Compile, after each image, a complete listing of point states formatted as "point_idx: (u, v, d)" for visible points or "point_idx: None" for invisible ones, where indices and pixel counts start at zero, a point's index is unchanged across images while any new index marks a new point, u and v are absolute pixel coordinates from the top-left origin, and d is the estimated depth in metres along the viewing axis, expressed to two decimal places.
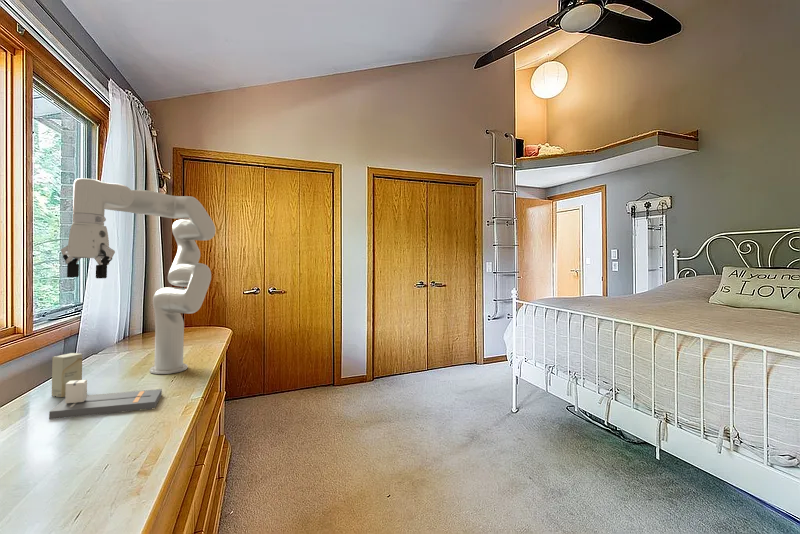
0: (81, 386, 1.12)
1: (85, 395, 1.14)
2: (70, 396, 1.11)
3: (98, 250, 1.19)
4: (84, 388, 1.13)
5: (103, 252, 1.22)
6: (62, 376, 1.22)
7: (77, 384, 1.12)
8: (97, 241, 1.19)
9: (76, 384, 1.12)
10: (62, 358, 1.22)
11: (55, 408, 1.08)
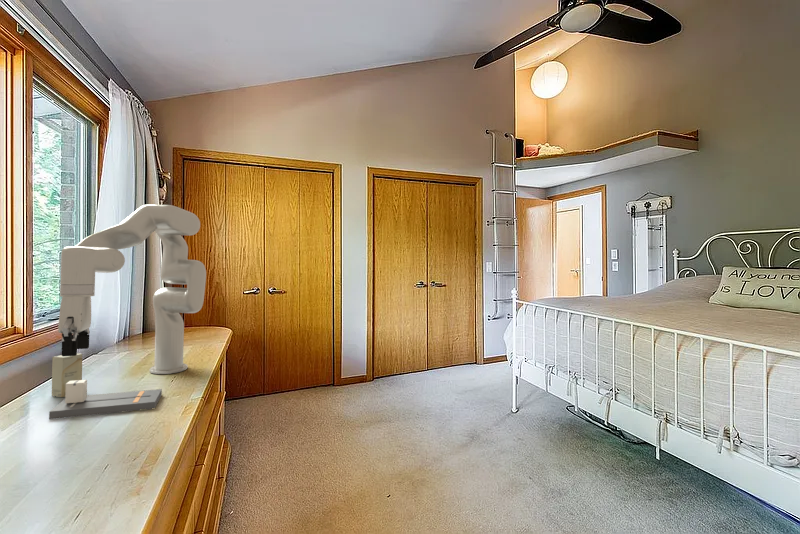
0: (81, 386, 1.12)
1: (85, 395, 1.14)
2: (70, 396, 1.11)
3: None
4: (84, 388, 1.13)
5: None
6: (62, 376, 1.22)
7: (77, 384, 1.12)
8: None
9: (76, 384, 1.12)
10: (62, 358, 1.22)
11: (55, 408, 1.08)
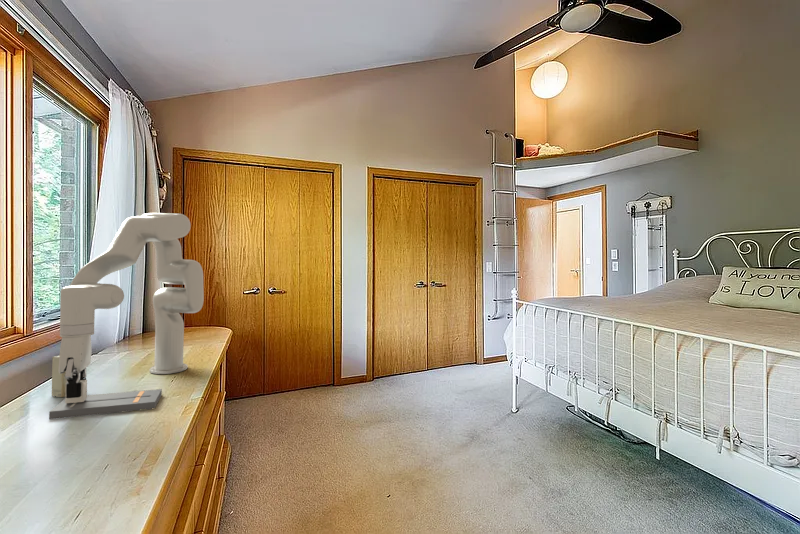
0: (81, 386, 1.12)
1: (85, 395, 1.14)
2: None
3: None
4: (84, 388, 1.13)
5: None
6: (62, 376, 1.22)
7: None
8: None
9: None
10: None
11: (55, 408, 1.08)
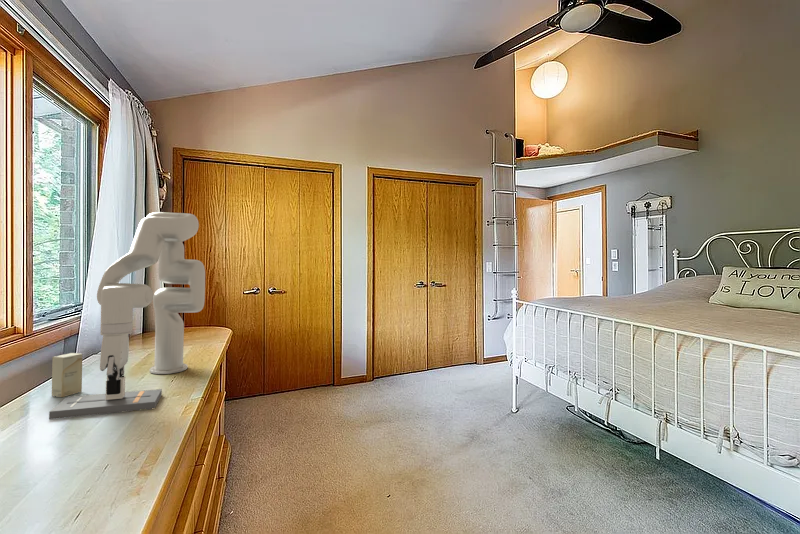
0: (121, 383, 1.16)
1: (124, 392, 1.18)
2: None
3: None
4: (123, 385, 1.17)
5: None
6: (62, 376, 1.22)
7: None
8: None
9: None
10: (62, 358, 1.22)
11: (55, 408, 1.08)
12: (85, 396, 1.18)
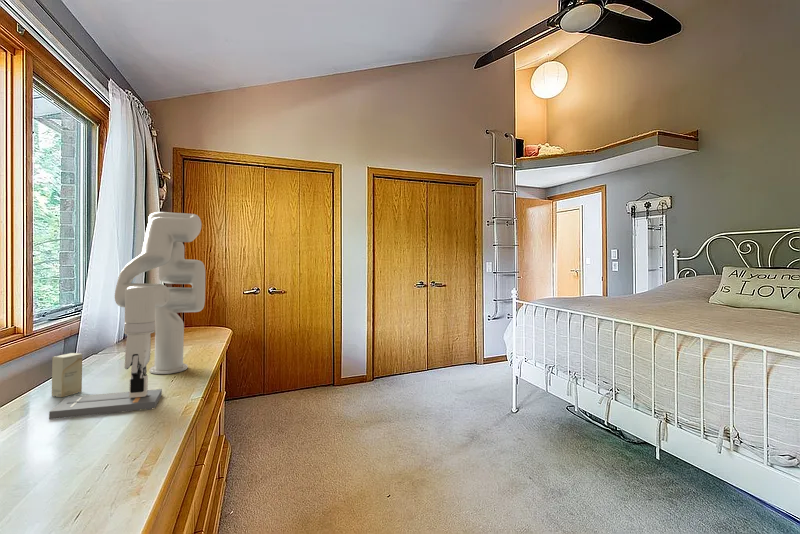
0: (144, 381, 1.18)
1: (146, 390, 1.20)
2: None
3: None
4: (146, 383, 1.19)
5: None
6: (62, 376, 1.22)
7: None
8: None
9: None
10: (62, 358, 1.22)
11: (55, 408, 1.08)
12: (85, 396, 1.18)
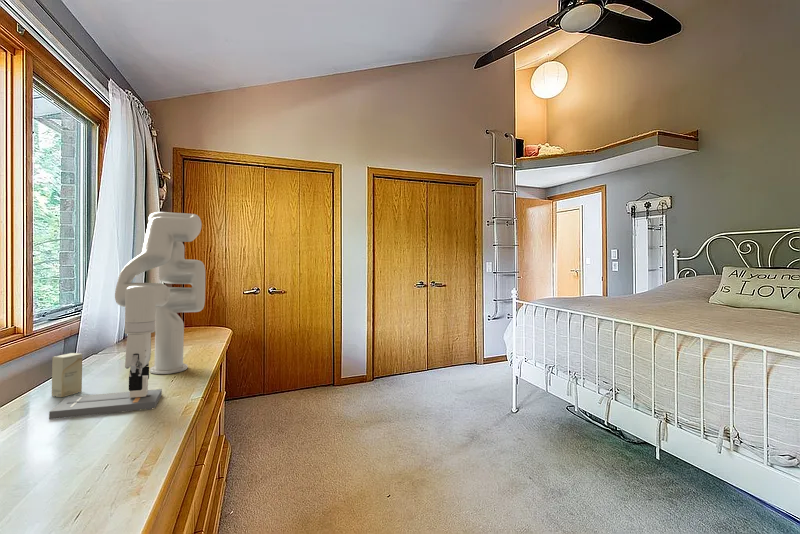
0: (144, 381, 1.18)
1: (147, 390, 1.20)
2: None
3: None
4: (146, 383, 1.19)
5: None
6: (62, 376, 1.22)
7: None
8: None
9: None
10: (62, 358, 1.22)
11: (55, 408, 1.08)
12: (85, 396, 1.18)
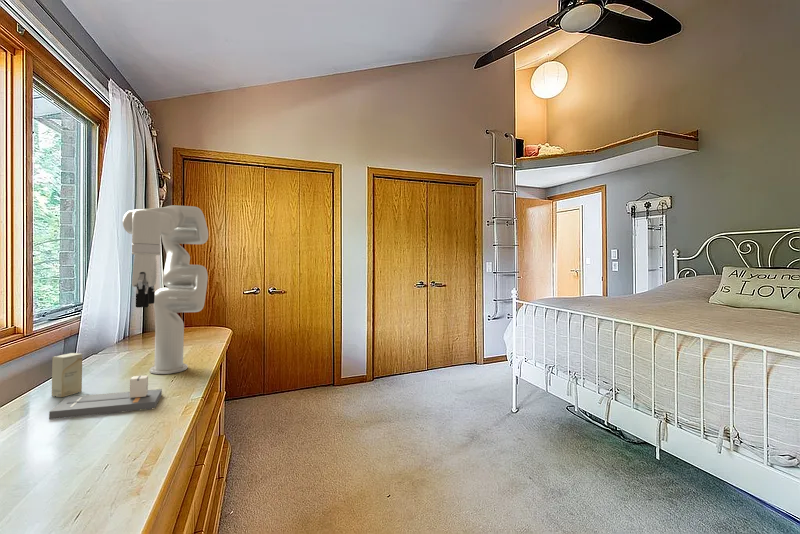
0: (144, 381, 1.18)
1: (147, 390, 1.20)
2: (134, 390, 1.17)
3: None
4: (146, 383, 1.19)
5: None
6: (62, 376, 1.22)
7: (140, 379, 1.18)
8: None
9: (139, 379, 1.17)
10: (62, 358, 1.22)
11: (55, 408, 1.08)
12: (85, 396, 1.18)
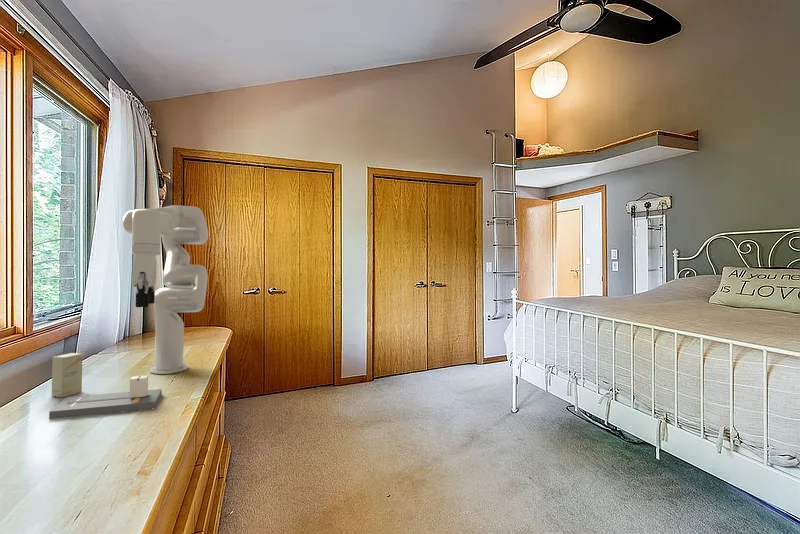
0: (144, 381, 1.18)
1: (147, 390, 1.20)
2: (134, 390, 1.17)
3: None
4: (146, 383, 1.19)
5: None
6: (62, 376, 1.22)
7: (140, 379, 1.18)
8: None
9: (139, 379, 1.17)
10: (62, 358, 1.22)
11: (55, 408, 1.08)
12: (85, 396, 1.18)
